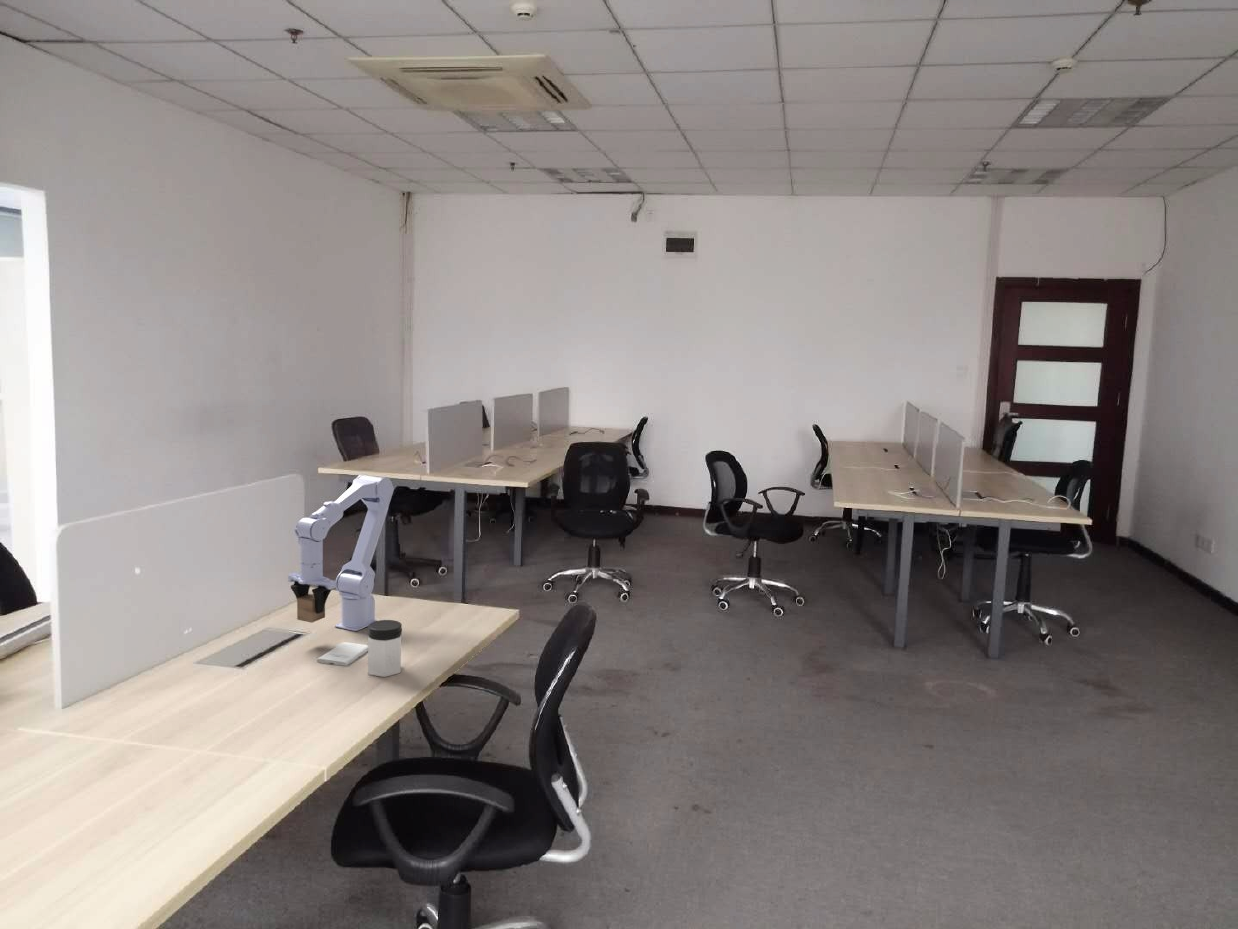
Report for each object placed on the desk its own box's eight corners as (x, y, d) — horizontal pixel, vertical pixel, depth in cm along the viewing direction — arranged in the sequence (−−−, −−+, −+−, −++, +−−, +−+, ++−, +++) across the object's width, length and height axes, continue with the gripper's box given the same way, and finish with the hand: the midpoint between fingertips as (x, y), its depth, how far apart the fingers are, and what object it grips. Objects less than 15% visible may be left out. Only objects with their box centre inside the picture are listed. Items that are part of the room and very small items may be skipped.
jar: (376, 680, 205) (376, 633, 203) (360, 669, 211) (360, 624, 209) (408, 671, 211) (409, 626, 209) (392, 661, 217) (393, 617, 215)
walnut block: (310, 614, 230) (310, 593, 229) (325, 617, 228) (324, 596, 227) (297, 619, 225) (297, 598, 224) (312, 622, 223) (311, 601, 222)
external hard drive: (370, 651, 225) (345, 668, 213) (342, 647, 226) (316, 663, 214) (370, 645, 224) (345, 661, 212) (342, 641, 226) (316, 657, 214)
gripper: (279, 561, 223) (279, 610, 225) (322, 569, 218) (322, 619, 220) (298, 555, 230) (298, 603, 232) (340, 563, 225) (340, 612, 227)
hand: (311, 610), depth 226 cm, fingers closed on walnut block, 5 cm apart
